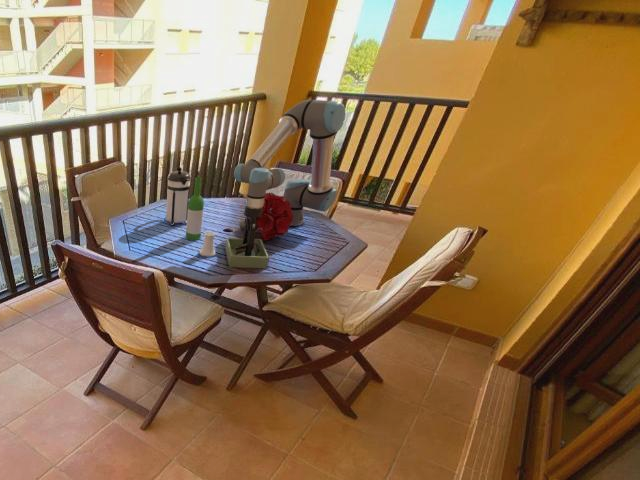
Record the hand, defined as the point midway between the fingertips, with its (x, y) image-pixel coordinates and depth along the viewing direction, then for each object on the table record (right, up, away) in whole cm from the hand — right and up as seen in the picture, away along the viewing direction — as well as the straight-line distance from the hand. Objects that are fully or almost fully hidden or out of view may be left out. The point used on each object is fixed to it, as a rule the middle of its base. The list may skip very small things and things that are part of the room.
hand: (245, 254), depth 183 cm
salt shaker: (+22, +32, +46) cm, 60 cm away
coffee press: (-28, +28, +42) cm, 58 cm away
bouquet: (+15, +14, +22) cm, 30 cm away
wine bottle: (-21, +13, +22) cm, 33 cm away
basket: (0, -1, +1) cm, 2 cm away
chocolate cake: (0, -1, 0) cm, 1 cm away
